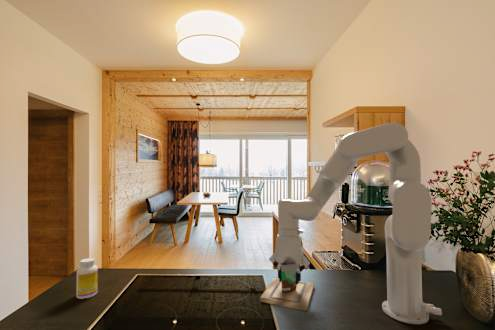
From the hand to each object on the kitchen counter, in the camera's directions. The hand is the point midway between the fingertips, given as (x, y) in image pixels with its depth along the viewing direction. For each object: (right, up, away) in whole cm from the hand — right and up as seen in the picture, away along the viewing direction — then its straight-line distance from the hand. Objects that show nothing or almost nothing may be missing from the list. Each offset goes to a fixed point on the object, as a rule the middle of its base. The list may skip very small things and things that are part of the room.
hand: (289, 280), depth 93 cm
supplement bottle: (-75, -5, 0) cm, 75 cm away
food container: (+1, -2, 0) cm, 3 cm away
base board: (0, -5, 0) cm, 5 cm away
